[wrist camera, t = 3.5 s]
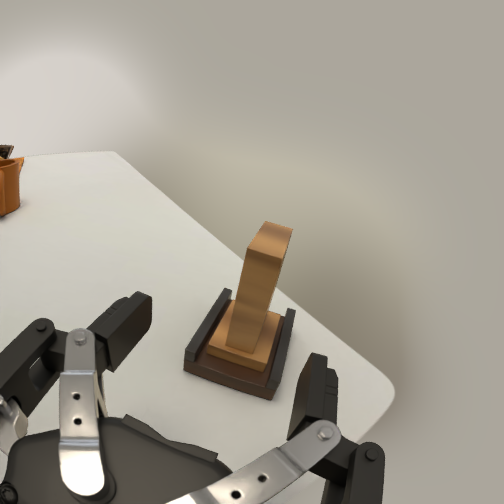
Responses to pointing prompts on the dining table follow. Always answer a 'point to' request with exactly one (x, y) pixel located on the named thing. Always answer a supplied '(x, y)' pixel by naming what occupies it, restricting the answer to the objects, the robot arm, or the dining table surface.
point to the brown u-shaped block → (232, 372)
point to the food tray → (6, 150)
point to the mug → (9, 185)
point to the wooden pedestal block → (253, 302)
